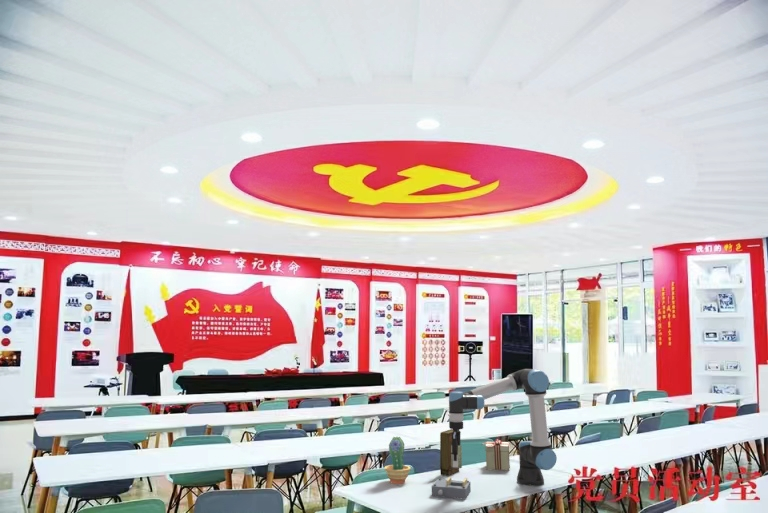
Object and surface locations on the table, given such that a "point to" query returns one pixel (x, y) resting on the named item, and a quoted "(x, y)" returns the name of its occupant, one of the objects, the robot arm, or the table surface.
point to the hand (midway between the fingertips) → (456, 465)
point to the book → (446, 453)
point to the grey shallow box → (451, 488)
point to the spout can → (458, 457)
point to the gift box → (497, 455)
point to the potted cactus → (397, 462)
